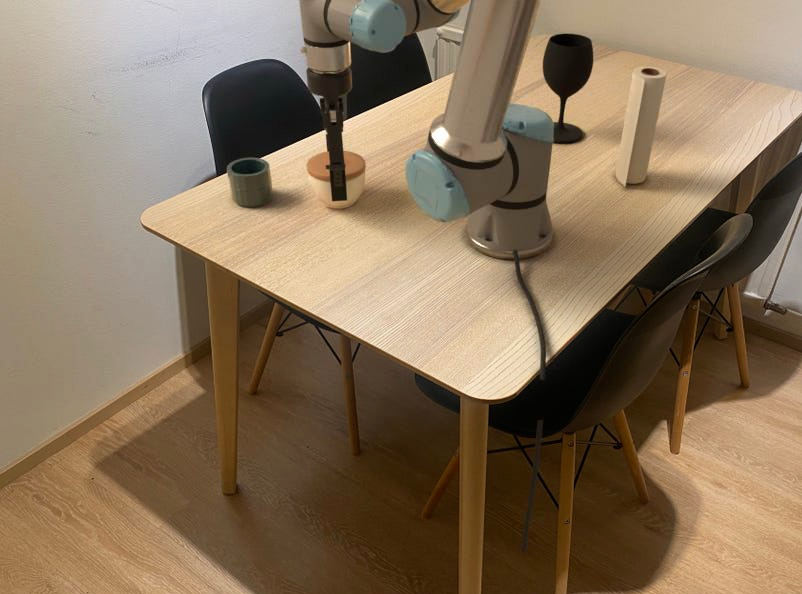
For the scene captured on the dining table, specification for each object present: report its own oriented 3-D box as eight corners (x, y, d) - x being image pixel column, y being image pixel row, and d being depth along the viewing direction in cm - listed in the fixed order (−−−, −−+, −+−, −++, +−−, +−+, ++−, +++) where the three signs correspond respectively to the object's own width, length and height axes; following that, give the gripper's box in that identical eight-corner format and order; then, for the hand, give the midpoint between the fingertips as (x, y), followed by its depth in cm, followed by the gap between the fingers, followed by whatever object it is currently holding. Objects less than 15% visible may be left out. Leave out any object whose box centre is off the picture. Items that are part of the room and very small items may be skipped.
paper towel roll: (631, 168, 158) (650, 63, 144) (651, 180, 154) (674, 73, 140) (604, 176, 155) (622, 69, 141) (624, 188, 151) (645, 80, 137)
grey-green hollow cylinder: (273, 207, 143) (268, 175, 139) (231, 209, 142) (225, 177, 138) (273, 187, 149) (269, 156, 144) (233, 190, 147) (227, 158, 143)
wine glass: (528, 126, 173) (537, 34, 160) (571, 121, 175) (583, 30, 162) (546, 145, 165) (557, 50, 152) (590, 140, 168) (604, 46, 155)
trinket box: (314, 218, 140) (309, 170, 134) (307, 190, 148) (302, 144, 142) (372, 211, 142) (370, 164, 136) (361, 184, 150) (359, 139, 144)
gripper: (304, 43, 138) (314, 154, 151) (307, 95, 119) (319, 217, 133) (346, 41, 139) (353, 152, 152) (356, 93, 120) (363, 214, 134)
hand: (337, 183), depth 143 cm, fingers open, 12 cm apart
